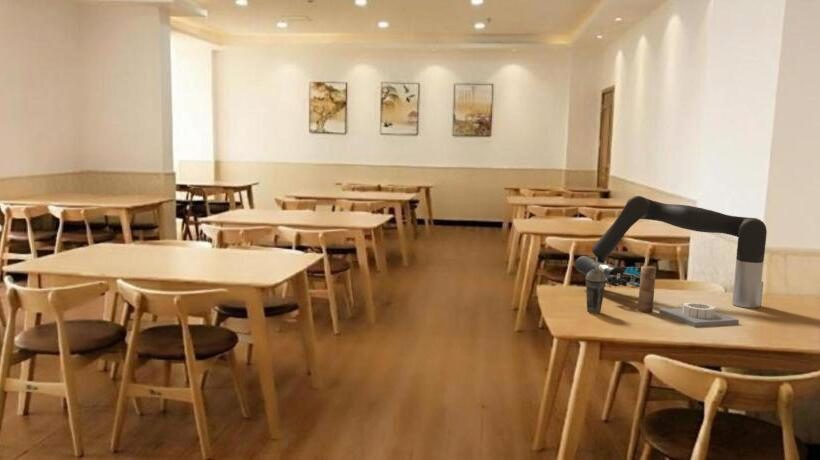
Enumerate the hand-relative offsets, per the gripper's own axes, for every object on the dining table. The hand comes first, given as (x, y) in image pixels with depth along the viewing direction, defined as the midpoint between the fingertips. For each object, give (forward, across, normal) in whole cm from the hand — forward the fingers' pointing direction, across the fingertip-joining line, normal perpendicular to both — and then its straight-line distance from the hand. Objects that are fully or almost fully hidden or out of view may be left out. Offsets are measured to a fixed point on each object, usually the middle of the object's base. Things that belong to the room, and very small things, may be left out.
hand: (635, 283), depth 249 cm
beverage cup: (+5, -20, +9) cm, 22 cm away
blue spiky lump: (-34, +25, +9) cm, 43 cm away
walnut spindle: (+6, 0, +9) cm, 11 cm away
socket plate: (+20, +12, +9) cm, 25 cm away
